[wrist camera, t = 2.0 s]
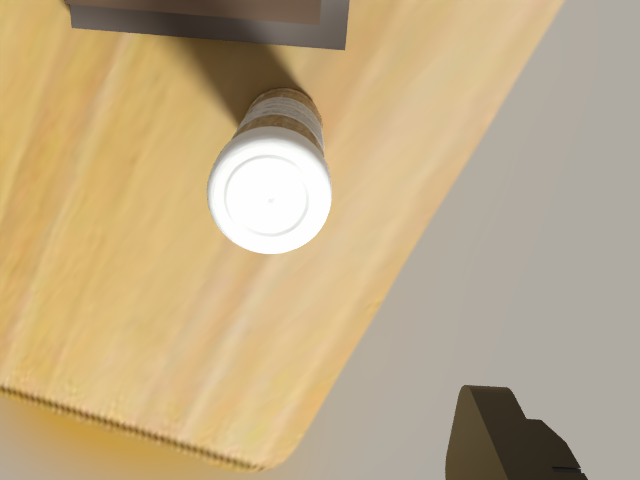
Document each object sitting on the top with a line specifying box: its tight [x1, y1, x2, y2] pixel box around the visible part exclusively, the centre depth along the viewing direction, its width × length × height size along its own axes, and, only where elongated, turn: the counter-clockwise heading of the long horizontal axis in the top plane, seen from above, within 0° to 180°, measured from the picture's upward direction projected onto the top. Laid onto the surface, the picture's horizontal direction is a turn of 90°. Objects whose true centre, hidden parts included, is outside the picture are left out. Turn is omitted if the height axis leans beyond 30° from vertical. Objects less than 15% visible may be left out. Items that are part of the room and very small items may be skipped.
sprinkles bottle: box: [207, 88, 332, 254], centre depth 27 cm, size 5×5×13 cm
